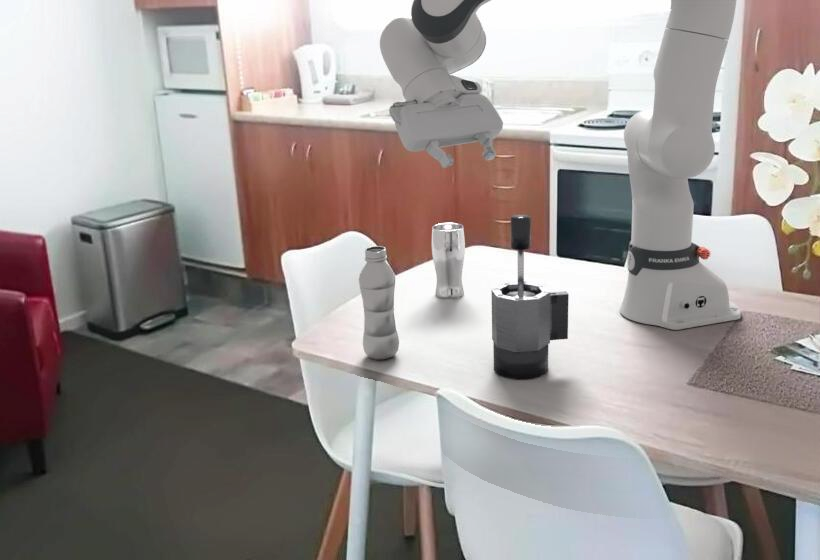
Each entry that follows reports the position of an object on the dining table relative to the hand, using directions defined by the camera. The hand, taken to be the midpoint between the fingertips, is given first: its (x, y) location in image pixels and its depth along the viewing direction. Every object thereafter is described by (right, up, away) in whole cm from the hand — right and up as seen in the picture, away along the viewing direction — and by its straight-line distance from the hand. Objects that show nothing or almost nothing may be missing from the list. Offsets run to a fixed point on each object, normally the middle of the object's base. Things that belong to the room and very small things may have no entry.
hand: (470, 161), depth 144 cm
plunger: (+8, -23, -3) cm, 25 cm away
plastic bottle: (-15, -34, +8) cm, 38 cm away
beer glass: (-2, -23, +38) cm, 45 cm away
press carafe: (+10, -35, +1) cm, 36 cm away
